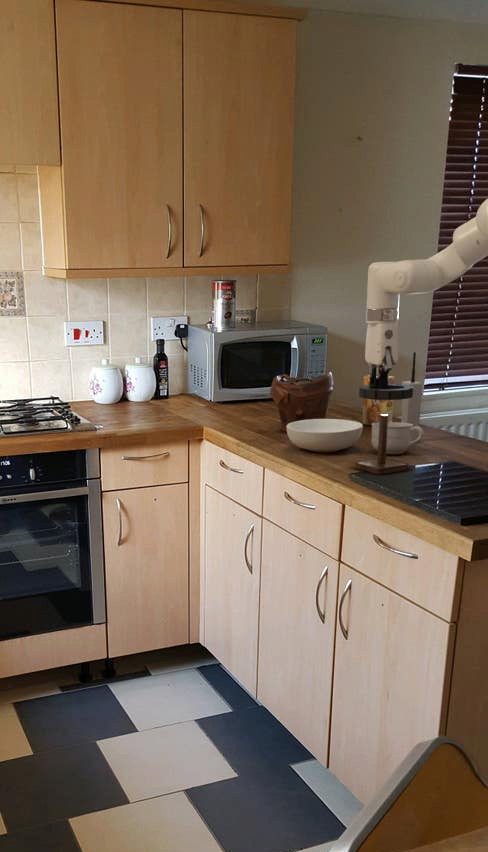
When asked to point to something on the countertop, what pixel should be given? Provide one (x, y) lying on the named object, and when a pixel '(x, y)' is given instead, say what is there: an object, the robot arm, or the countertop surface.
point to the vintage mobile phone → (412, 403)
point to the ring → (386, 392)
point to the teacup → (396, 437)
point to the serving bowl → (324, 434)
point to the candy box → (376, 406)
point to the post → (382, 454)
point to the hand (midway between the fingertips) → (378, 393)
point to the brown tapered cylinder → (301, 397)
